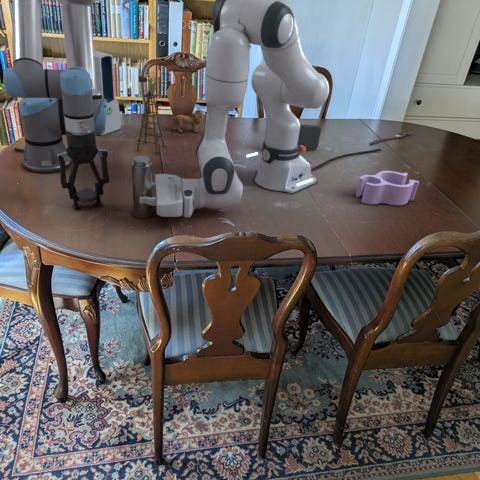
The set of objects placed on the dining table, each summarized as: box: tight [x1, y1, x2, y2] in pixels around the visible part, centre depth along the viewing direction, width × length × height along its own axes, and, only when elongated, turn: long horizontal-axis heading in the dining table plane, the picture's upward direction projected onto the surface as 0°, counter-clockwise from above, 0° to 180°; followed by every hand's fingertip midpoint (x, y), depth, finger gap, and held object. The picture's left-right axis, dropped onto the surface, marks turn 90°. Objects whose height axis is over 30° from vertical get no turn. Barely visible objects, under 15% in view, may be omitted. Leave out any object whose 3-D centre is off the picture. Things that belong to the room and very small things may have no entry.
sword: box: [370, 133, 413, 145], centre depth 213 cm, size 31×3×1 cm, turn 126°
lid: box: [77, 188, 97, 204], centre depth 137 cm, size 6×6×2 cm
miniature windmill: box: [136, 67, 166, 154], centre depth 171 cm, size 9×8×30 cm
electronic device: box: [94, 50, 122, 136], centre depth 182 cm, size 12×8×30 cm, turn 148°
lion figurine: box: [169, 108, 205, 133], centre depth 196 cm, size 15×5×9 cm, turn 110°
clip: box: [355, 170, 420, 206], centre depth 160 cm, size 20×12×7 cm, turn 109°
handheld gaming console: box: [297, 124, 322, 151], centre depth 189 cm, size 23×3×10 cm, turn 108°
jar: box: [131, 155, 153, 219], centre depth 133 cm, size 5×5×18 cm
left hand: (87, 205), depth 139 cm, fingers closed on lid, 6 cm apart
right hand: (139, 193), depth 134 cm, fingers closed on jar, 5 cm apart
